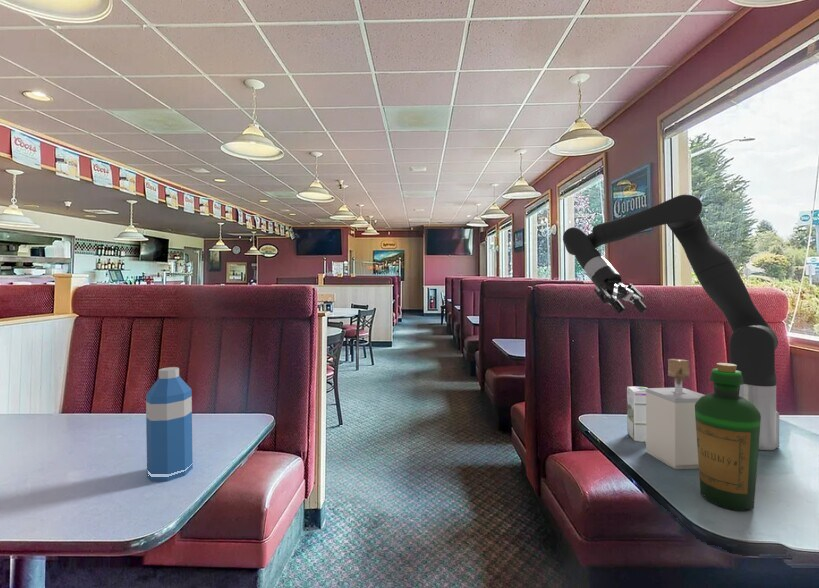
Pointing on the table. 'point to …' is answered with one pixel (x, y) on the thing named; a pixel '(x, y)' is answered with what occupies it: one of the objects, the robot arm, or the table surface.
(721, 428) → the bottle
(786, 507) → the table surface
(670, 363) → the brown round knob
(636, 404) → the syrup box
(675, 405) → the white box
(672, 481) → the table surface
